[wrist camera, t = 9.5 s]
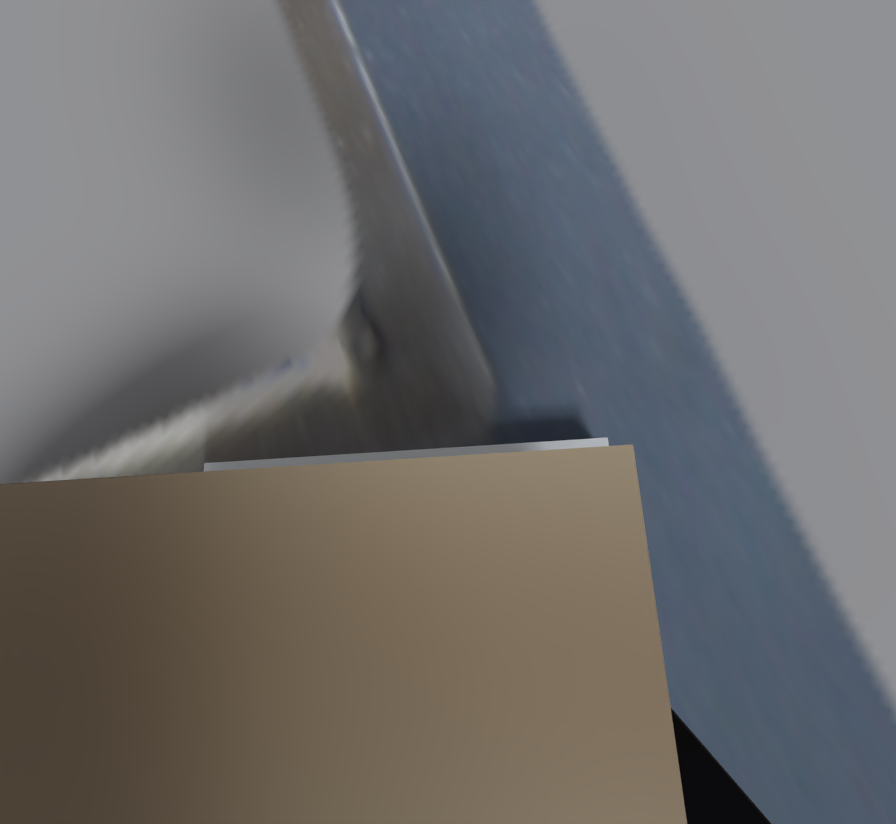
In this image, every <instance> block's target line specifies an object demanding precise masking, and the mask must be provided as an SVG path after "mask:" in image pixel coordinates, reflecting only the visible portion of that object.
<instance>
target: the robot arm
mask: <svg viewBox="0 0 896 824" xmlns="http://www.w3.org/2000/svg"><path fill="white" fill-rule="evenodd" d="M671 714H672V721H673V728H674V735H675V742H676V749H677V756H678V763H679V770H680V777H681V784H682V791H683V798H684V805H685V812H686V819H687V824H771V823H770V821H769V820H768V819H767V818H766V817H765V816H764V814H763V813H762V812H761V811H760V810H759V809H758V808H757V806H756V805H755V804H754V803H753V802H752V801H751V800H750V798H749V797H748V796H747V795H746V794H745V793H744V791H743V790H742V789H741V788H740V787H739V786H738V785H737V783H736V782H735V781H734V780H733V779H732V778H731V776H730V775H729V774H728V773H727V772H726V771H725V770H724V768H723V767H722V766H721V765H720V764H719V763H718V761H717V760H716V759H715V758H714V757H713V756H712V755H711V753H710V752H709V751H708V750H707V749H706V748H705V746H704V745H703V744H702V743H701V742H700V741H699V740H698V738H697V737H696V736H695V735H694V734H693V733H692V731H691V730H690V729H689V728H688V727H687V726H686V725H685V723H684V722H683V721H682V720H681V719H680V718H679V716H678V715H677V714H676V713H675V712H674V711H673V710H672V708H671Z"/></svg>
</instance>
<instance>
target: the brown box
mask: <svg viewBox="0 0 896 824" xmlns="http://www.w3.org/2000/svg"><path fill="white" fill-rule="evenodd" d="M0 824H687V819H686V812H685V805H684V798H683V791H682V784H681V777H680V770H679V763H678V756H677V749H676V742H675V735H674V728H673V721H672V714H671V707H670V700H669V693H668V686H667V679H666V672H665V665H664V658H663V651H662V644H661V637H660V630H659V623H658V616H657V609H656V602H655V595H654V588H653V581H652V574H651V567H650V560H649V553H648V546H647V539H646V532H645V525H644V518H643V511H642V504H641V497H640V490H639V483H638V476H637V469H636V462H635V455H634V448H633V445H618V446H602V447H586V448H570V449H554V450H538V451H522V452H506V453H490V454H474V455H459V456H443V457H427V458H411V459H395V460H379V461H363V462H347V463H331V464H315V465H299V466H283V467H267V468H251V469H235V470H219V471H203V472H188V473H172V474H156V475H140V476H124V477H108V478H92V479H76V480H60V481H44V482H28V483H12V484H0Z"/></svg>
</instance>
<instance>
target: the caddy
mask: <svg viewBox="0 0 896 824" xmlns="http://www.w3.org/2000/svg"><path fill="white" fill-rule="evenodd" d="M602 446H609V444H608V438H593V439H577V440H562V441H546V442H530V443H514V444H499V445H483V446H467V447H451V448H435V449H420V450H404V451H388V452H372V453H356V454H341V455H325V456H309V457H293V458H278V459H262V460H246V461H230V462H214V463H204V471H219V470H235V469H251V468H267V467H283V466H299V465H315V464H331V463H347V462H363V461H379V460H395V459H411V458H427V457H443V456H459V455H474V454H490V453H506V452H522V451H538V450H554V449H570V448H586V447H602Z"/></svg>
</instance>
